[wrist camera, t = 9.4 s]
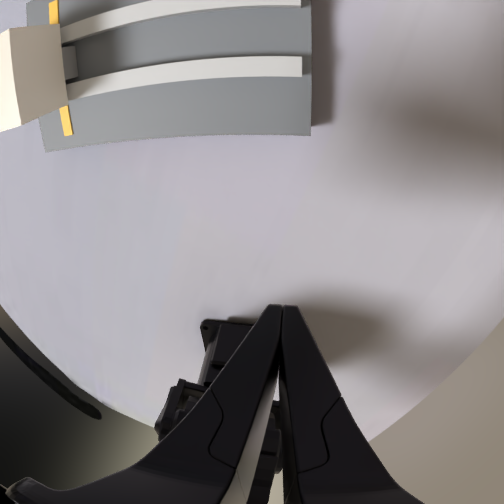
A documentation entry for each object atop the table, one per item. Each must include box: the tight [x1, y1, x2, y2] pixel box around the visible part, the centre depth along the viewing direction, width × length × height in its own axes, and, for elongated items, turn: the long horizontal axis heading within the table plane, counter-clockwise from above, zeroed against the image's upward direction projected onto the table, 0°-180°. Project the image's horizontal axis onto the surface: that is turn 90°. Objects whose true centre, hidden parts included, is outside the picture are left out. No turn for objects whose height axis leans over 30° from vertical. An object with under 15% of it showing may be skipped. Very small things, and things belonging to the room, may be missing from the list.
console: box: [26, 0, 312, 152], centre depth 14 cm, size 11×17×3 cm, turn 92°
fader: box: [0, 24, 78, 132], centre depth 12 cm, size 5×3×5 cm, turn 2°
